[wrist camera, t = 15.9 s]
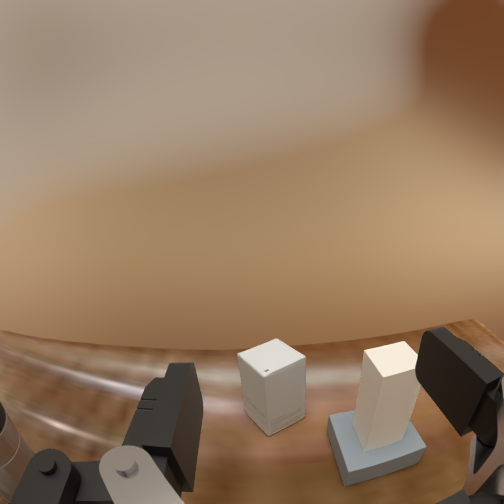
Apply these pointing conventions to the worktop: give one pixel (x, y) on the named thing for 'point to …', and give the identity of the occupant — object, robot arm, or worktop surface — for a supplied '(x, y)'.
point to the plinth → (370, 451)
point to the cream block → (385, 395)
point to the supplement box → (273, 385)
